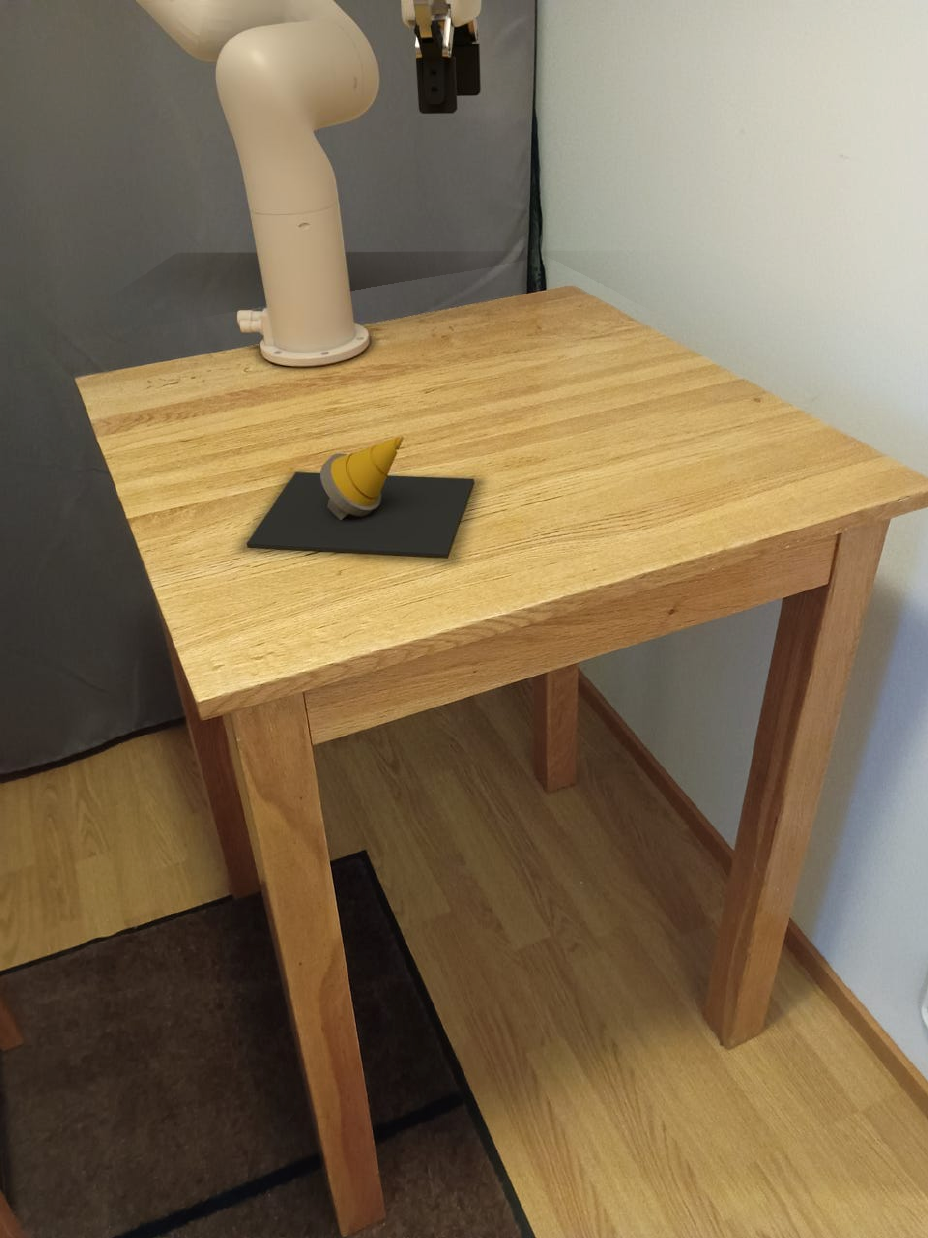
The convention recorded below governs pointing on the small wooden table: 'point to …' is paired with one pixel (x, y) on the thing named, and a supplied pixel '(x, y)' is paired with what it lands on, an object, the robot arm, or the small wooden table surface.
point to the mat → (368, 518)
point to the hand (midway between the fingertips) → (451, 103)
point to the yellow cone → (358, 478)
